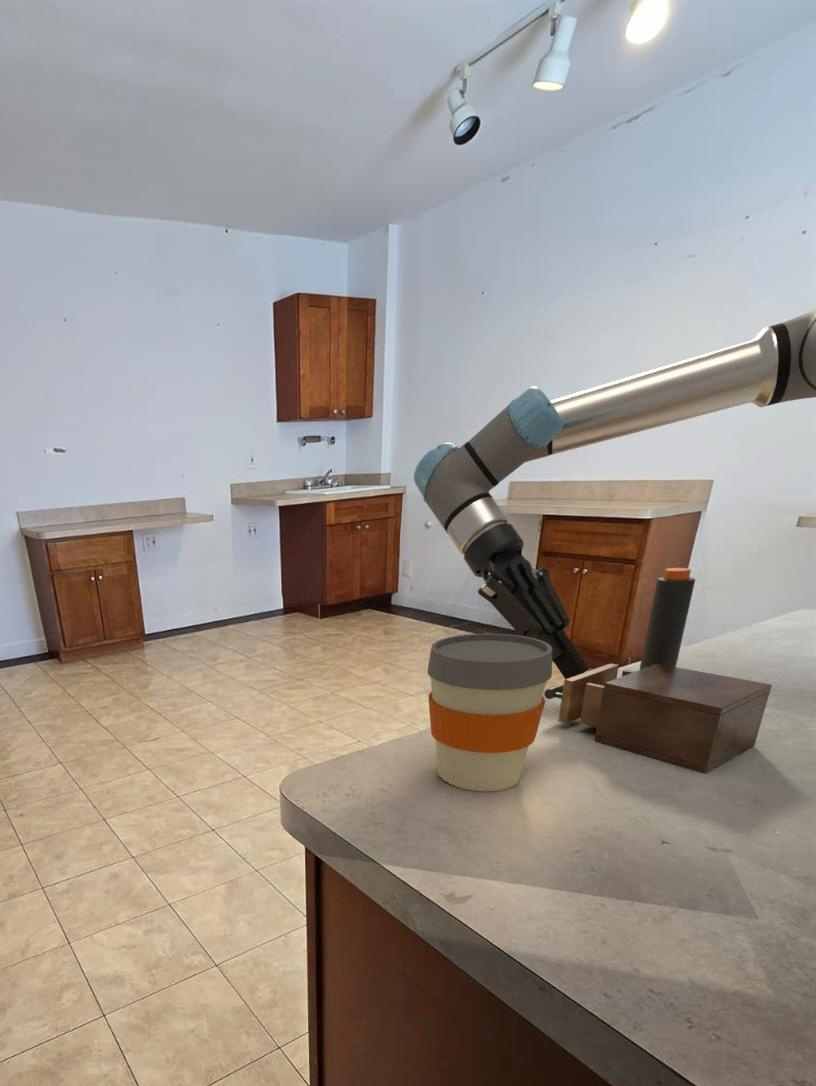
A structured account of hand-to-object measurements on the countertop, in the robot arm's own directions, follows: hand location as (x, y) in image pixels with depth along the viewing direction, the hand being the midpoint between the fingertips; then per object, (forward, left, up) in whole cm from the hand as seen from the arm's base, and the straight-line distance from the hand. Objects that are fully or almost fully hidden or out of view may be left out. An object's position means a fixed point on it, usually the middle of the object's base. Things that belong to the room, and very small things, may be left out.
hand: (578, 675), depth 85 cm
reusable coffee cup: (+13, +21, -6) cm, 25 cm away
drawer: (-4, +3, -5) cm, 7 cm away
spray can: (-11, -8, -6) cm, 15 cm away
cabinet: (-10, +8, -6) cm, 14 cm away
